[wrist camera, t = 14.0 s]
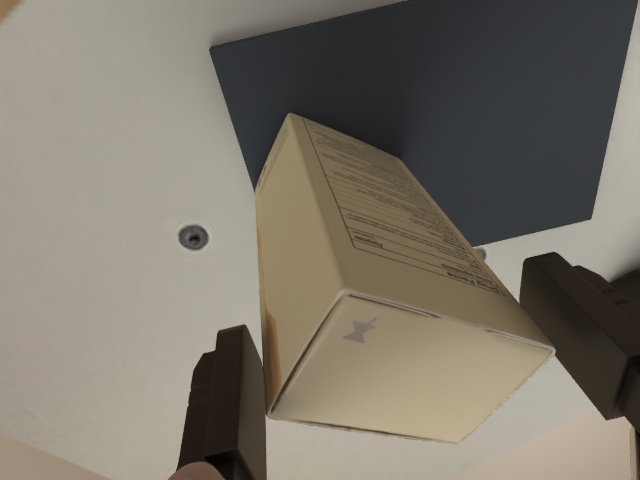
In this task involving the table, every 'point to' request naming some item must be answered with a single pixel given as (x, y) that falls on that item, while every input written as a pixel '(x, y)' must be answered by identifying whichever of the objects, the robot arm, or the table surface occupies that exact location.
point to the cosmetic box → (377, 298)
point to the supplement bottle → (629, 287)
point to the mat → (451, 99)
